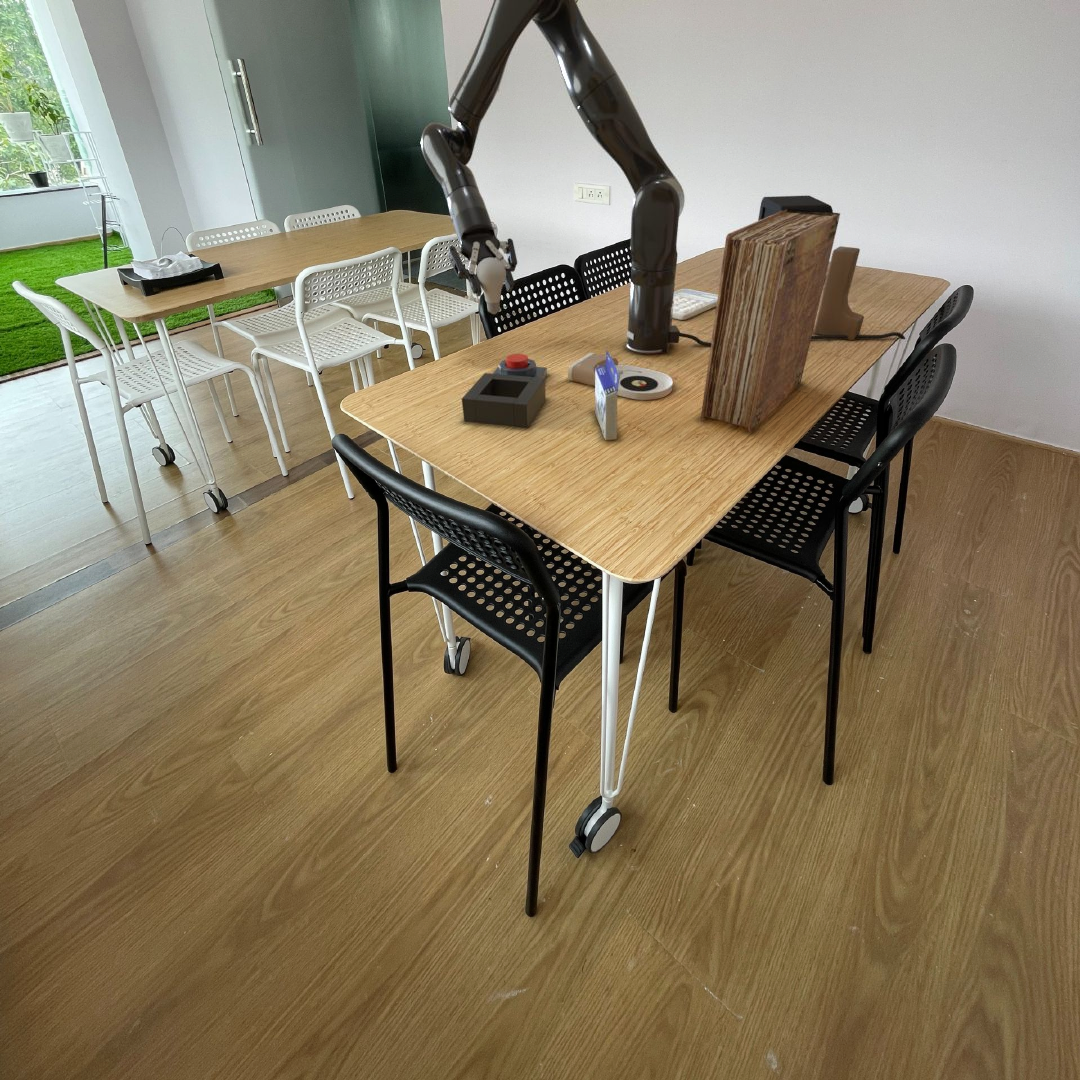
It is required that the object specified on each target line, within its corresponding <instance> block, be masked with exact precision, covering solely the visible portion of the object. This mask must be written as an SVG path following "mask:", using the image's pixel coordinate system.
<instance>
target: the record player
mask: <svg viewBox="0 0 1080 1080" xmlns="http://www.w3.org/2000/svg"><path fill="white" fill-rule="evenodd" d="M611 358H612V360H613V362H614V365H615V367H616V369H617V371H618V373H619V375H620V379H619V386H618V392H617V396H619V397H622V398H627V399H631V400H632V399H633V400H638V401H646V400H647V401H650V400H652V401H653V400H657V399H661V398H664V397H666V396H668V395H669V394H671V392H672V391H673V383H674V382H673V379H672V378H671V376H670V375H668V374H666V373H664V372H662V371H658V370H655V369H654V370H653V369H650V368H649V369H648V368H644V367H640V366H635V365H631V364H619V360H618V359H617V358H616V357H612V356H611ZM604 365H606V355H602V354H598V353H594V352H589V353H588V354H586V355H584V356H582V357H581V358H580V359H578V360H576V361H575V362H573V363H571V364H570V365H569V366H568V370H567V379H568V380H569V381H571V382H574V383H575V382H576V383H580V384H583V385H587V386H591V387H595V369H596V368H598V367H601V366H604ZM611 371H612V373H613V375H614V372H613V368H611Z"/></svg>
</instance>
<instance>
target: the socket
mask: <svg viewBox="0 0 1080 1080" xmlns="http://www.w3.org/2000/svg"><path fill="white" fill-rule="evenodd" d="M546 398H547V397H546V377H545V378H538V377H526V376H514V375H502V374H492V373H489V372H484V373H483V374H482V375H481V377H480V378H479V379H477V381H476V382H475V383H474V385H472V387H471V388H470V389H469V390H468V391H467V392H466V393H465V394H464V396H462V398H461V407H462V415H463V422H464V423H470V424H471V423H473V424H481V425H483V424H484V425H493V426H501V427H503V426H504V427H511V428H521V429H528V428H529V427H530V425H531V424H532V422H533V421H534V419H535V418H536V416H537V415H538V413H539V411H540V410H541V408H542V407H543V405H544V404H545V402H546V400H547V399H546Z"/></svg>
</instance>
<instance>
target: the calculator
mask: <svg viewBox="0 0 1080 1080" xmlns="http://www.w3.org/2000/svg"><path fill="white" fill-rule="evenodd" d="M717 299H718V294H715V293H710V292H705V291H700V290H694V289H690V288H682V289H678V290H676V291H674V296H673V302H674V306H673V316H672V319H675V320H680V321H685V320H688V319H690V318H693V317H695V316H697V315H700V314H702V313H705V312H707V311H709V310H710V309H711V310H712V309H713V308H716V306H717Z"/></svg>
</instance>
